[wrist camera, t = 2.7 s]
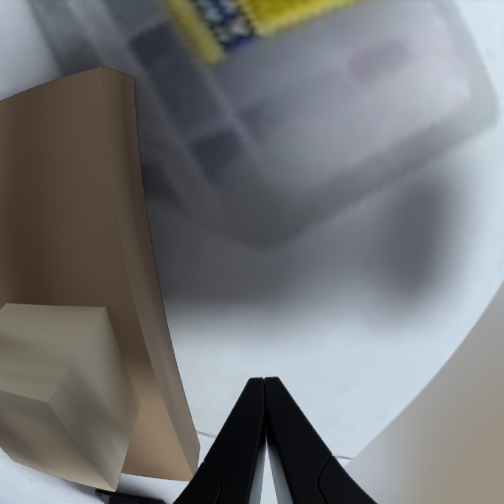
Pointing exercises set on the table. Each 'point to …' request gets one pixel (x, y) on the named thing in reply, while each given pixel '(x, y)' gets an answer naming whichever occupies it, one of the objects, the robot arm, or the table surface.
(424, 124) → the table surface
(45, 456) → the maple block
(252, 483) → the robot arm
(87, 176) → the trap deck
